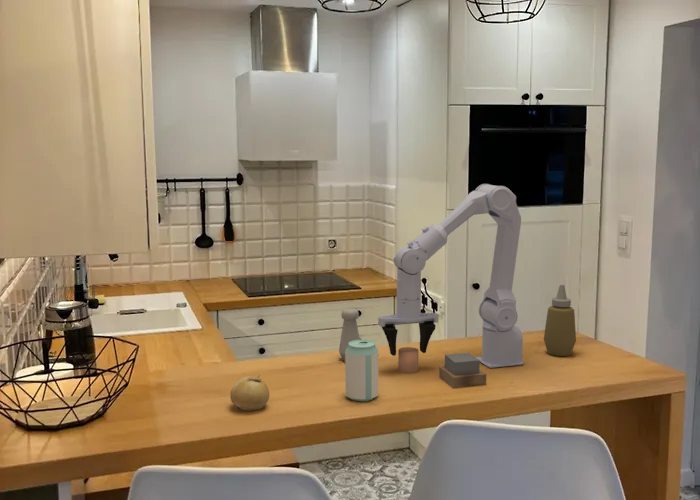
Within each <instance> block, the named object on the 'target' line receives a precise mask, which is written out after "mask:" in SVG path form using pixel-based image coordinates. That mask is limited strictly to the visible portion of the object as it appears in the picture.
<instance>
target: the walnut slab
mask: <svg viewBox="0 0 700 500" xmlns="http://www.w3.org/2000/svg"><path fill="white" fill-rule="evenodd" d="M438 370H439V371H438V372H439V374H438V376H439V379H441V380H442V381H443V382H445V383H446V384H447V385H448V386H449V387H450V388H452V389H462V388H469V387H470V388H472V387H480V386H481V387H482V386H487V373H486V372H484V371H483V370H481V369H480V370H479V373H475V374H464V375H454V374H452V373H451V372H450V371H449V370H448V369H446V368H445V365H443V366H439V369H438Z"/></svg>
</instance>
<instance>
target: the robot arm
mask: <svg viewBox="0 0 700 500" xmlns="http://www.w3.org/2000/svg"><path fill="white" fill-rule="evenodd" d="M483 214H484V215H485V214H488V215H489V216H490V217H491V218H492V219H493V221H494V222H495V223H496V224H497V229H496V236H495V241H494V242H495V244H494V250H493V251H494V252H493V259H492V266H491V273H490V282H489V287H488V288H487V289H486V290H485V292H484V295H483V299H482V300H481V302H480V304H479V307H478V314H479V316H480V318H481V319H482V334H481V335H482V339H481V342H482V344H481V345H482V346H481V356H480V355H479V356H475V357H476V358H477V359H479V360H480V363H482V364H483V365H485V366H486V367H488V368H490V369H492V368H501V367H502V368H503V367H510V366H511V367H512V366H521V365H524V364H525V362H524V361H523V355H524V354H523V349H524V348H523V347H524V346H523V345H524V338H523V332H522V330H521V328H520V327H518V326H517V325H516V323H517V321H518V311H517V309H516V308H517V307H516V306H517V305H516V304H517V300H516V297H515V295H514V293H513V285H514V276H515V270H516V269H515V268H516V262H517V253H518V248H519V239H520V233H521V225H522V224H521V223H522V216H521V213H520V210H519V207H518V204H517V195H515V194H514V193H513V192H512V190H510V188H508V187H506V186H505V185H493V184H490V183H482V184H480V185H478V186H477V187H476V188H475V190H472V191H471V192H469V193H468V195H467V196H466V197H465V198H464V199H463V200H462V201H461V202H460V203H459V204H458V205H457V206H456V207H455V208H454V209H453V210H452V211H451V212H450V213H449V214H448V215H446V217H445V218H444V219H443V220H442V221H440V222H439V224H435V225H434V224H430V225H429V226H424V227H423V228H422V229H421V231H422V232H421V233H420V234H418V235H417V236H416V237H415V238H414V239H413V240H409V241H408V242H407V246H402V247H401V248H399V249H398V250H397V251H396V253H395V256H394V257H393V264H394V265H395V267H396V270H397V271H396V274H397V275H396V314H391V315H390V314H389V315H385V316H378V319H377V320H378V326H379V327H381V329H382V331H383V333H384V335H385V338H386V341H387V344H388V348H389V354H390V355H392V356H393V357H394V356H396V355H397V336H398V331H399V330H398V329H397V328H396V326H399V325H409V324H410V325H411V324H412V325H413V324H418V327H419V352H421V353H422V354H426V352H427V349H428V346H429V342H430V340H431V337H432V335H433V333H434V332H435V330H436V327H437V326H436V324H435V323H439V314H438V313H436V312H421V306H422V303H421V301H422V298H421V297H422V271H423V270H424V269H425V266H426V264H427V263H426V262H427V261H428V260H429V259H431V257H433V256H434V255H435V254H436V253H437V252H438V251H439V250H441V249H442V248H443V247H444V246H445V245H446V244H447V242H448V236H449V235H451V234H452V232H454V231H455V230H457V229H458V228H459V227H460V226H461V225H463V224H464V223H466V222H467V221H468V220H469V219H471V217H473V216H476V215H483Z"/></svg>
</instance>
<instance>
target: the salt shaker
mask: <svg viewBox="0 0 700 500" xmlns="http://www.w3.org/2000/svg"><path fill="white" fill-rule="evenodd" d="M359 314H360V313H359V311H358V310H357V309H356V308H351V307H350V308H344V309H343V310H342V311H341V314H340V315H341V319H343V322H342V328H341V336H340V341H339V349H338V352H339V353H338V354H340V357H341V359H343V360H342V361H344V362H345V350H346V349H347V347H348V343H349V342H350V341H353V340H361V338H360V333H359V329H358V322H357V319H359V316H360V315H359Z"/></svg>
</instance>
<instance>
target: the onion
mask: <svg viewBox="0 0 700 500" xmlns="http://www.w3.org/2000/svg"><path fill="white" fill-rule="evenodd" d="M260 376H261V374H260V373H259V374H258V375H257V376H256V377H255V376H248V375H247V376H243V377H242V378H240V379H239V380H237V381H236V382H235V383H234V384H233V386H232V388H231V390H230V401H231V402H232V404H233V405H234V407H235V408H237V409H238V410H242V411H248V412H250V411H256V410H257V411H258V410H260V409H262V408H263V407H265V406H266V404H267V403H268V402H269V399H270V389H269V386H268V385H267V383H266V382H264V381H263V380H262V379H261V378H260Z"/></svg>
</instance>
